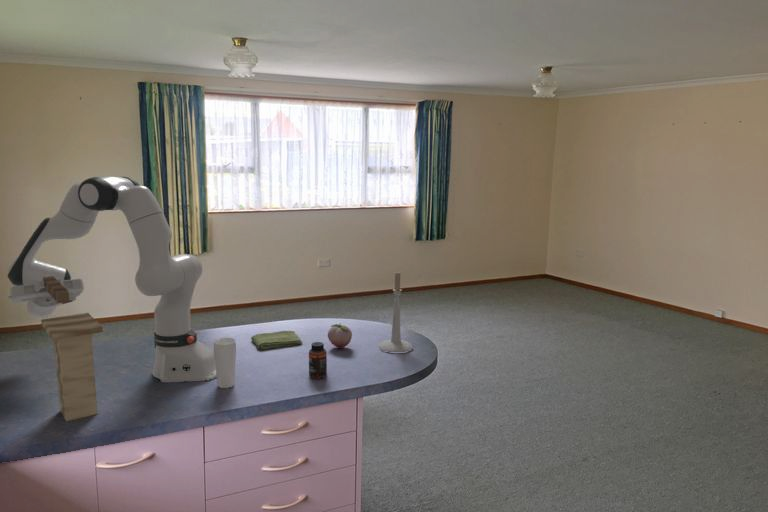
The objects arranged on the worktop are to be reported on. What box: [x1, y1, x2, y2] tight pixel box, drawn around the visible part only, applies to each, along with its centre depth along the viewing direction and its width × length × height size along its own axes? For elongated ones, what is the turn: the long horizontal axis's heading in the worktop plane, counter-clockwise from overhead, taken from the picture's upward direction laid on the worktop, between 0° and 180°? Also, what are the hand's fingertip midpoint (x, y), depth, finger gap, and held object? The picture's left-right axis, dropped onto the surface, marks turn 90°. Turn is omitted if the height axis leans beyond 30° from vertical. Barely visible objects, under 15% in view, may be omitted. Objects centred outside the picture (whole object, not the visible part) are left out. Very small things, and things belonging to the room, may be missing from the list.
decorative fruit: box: [327, 322, 353, 349], centre depth 221 cm, size 9×8×10 cm
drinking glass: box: [213, 337, 237, 389], centre depth 185 cm, size 7×7×15 cm
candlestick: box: [378, 271, 413, 352], centre depth 221 cm, size 13×13×30 cm
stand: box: [40, 312, 104, 423], centre depth 164 cm, size 16×12×26 cm
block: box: [43, 276, 71, 303], centre depth 175 cm, size 22×3×3 cm, turn 39°
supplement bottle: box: [308, 341, 328, 380], centre depth 195 cm, size 6×6×11 cm
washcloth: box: [250, 330, 303, 350], centre depth 227 cm, size 13×18×3 cm
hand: (50, 282), depth 180 cm, fingers closed on block, 3 cm apart
